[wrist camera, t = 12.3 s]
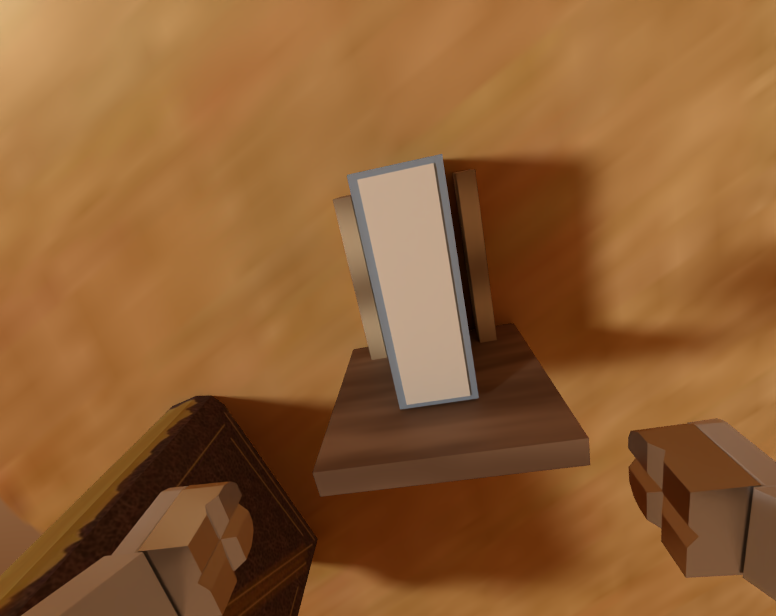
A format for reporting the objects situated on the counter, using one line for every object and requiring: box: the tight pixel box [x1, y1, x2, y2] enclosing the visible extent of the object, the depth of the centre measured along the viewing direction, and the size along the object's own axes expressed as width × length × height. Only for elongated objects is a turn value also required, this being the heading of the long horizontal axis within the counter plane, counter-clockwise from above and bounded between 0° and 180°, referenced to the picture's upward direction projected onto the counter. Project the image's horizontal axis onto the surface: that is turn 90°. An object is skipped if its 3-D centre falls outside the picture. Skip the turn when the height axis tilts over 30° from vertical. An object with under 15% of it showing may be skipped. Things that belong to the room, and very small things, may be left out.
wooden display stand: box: [313, 169, 590, 497], centre depth 23 cm, size 14×13×14 cm
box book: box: [347, 154, 479, 409], centre depth 25 cm, size 13×4×10 cm, turn 12°
